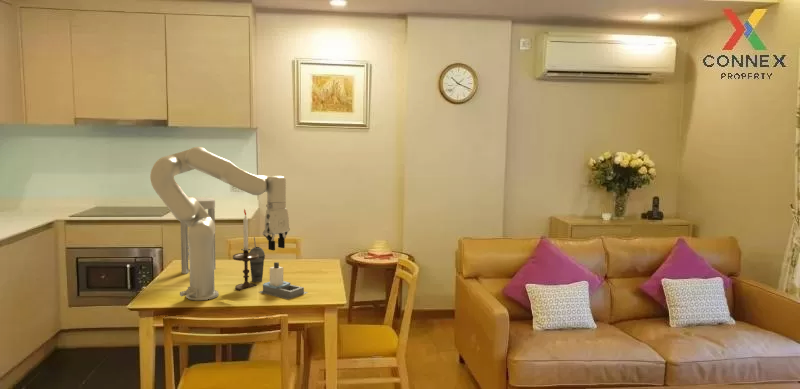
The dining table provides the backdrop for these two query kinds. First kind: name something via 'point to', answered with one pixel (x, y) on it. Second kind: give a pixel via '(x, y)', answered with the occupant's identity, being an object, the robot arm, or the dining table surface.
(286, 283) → the blue-grey compartment tray
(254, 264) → the beverage cup
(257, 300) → the dining table surface
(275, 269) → the white bottle
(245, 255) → the candlestick
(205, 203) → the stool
